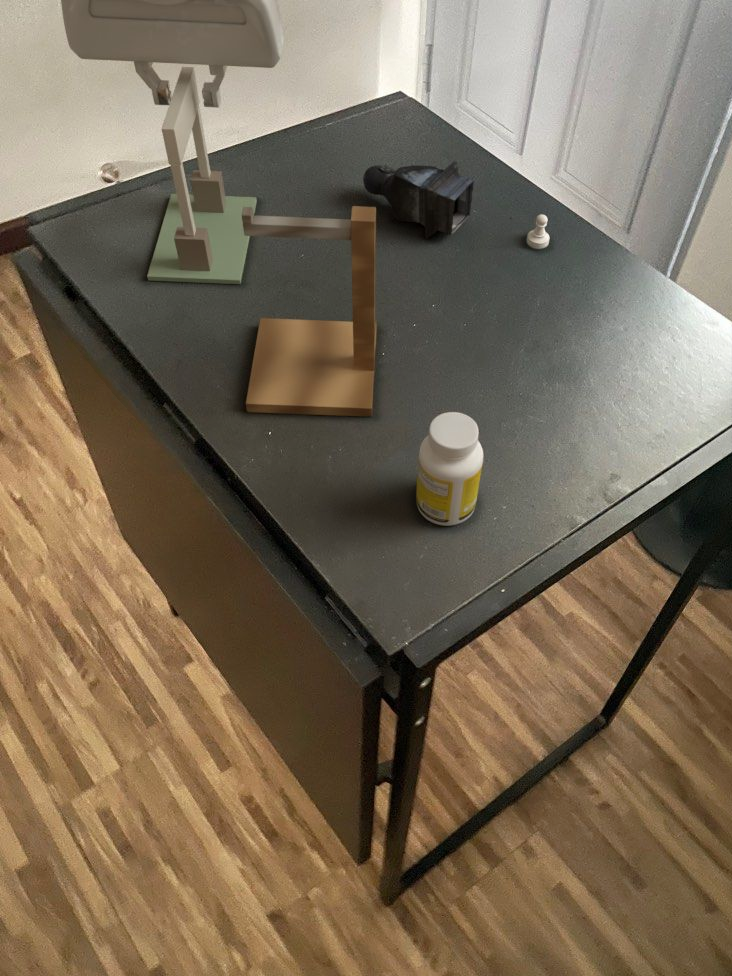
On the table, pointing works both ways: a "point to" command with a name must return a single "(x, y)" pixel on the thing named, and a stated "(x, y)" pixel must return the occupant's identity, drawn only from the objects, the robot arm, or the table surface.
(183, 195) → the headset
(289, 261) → the table surface
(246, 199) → the mat
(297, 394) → the stand
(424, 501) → the supplement bottle
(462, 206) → the dark knob-ended part
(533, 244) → the chess pawn
